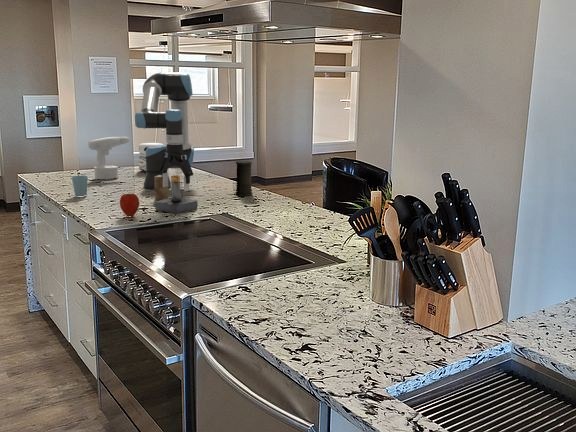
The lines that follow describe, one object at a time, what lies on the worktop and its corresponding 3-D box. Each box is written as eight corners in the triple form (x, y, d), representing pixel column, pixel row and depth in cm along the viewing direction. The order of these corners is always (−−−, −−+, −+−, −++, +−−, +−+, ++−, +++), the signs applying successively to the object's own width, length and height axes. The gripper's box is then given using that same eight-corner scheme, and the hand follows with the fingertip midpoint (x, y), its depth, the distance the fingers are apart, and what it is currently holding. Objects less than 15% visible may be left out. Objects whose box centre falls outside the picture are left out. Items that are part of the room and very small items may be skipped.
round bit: (170, 209, 270) (169, 176, 267) (176, 208, 274) (175, 175, 270) (176, 210, 268) (175, 177, 265) (182, 209, 272) (181, 176, 268)
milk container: (134, 173, 368) (133, 145, 363) (145, 168, 384) (144, 142, 380) (159, 174, 365) (158, 146, 361) (169, 170, 381) (168, 143, 377)
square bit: (155, 199, 291) (154, 176, 288) (160, 197, 296) (159, 175, 293) (163, 200, 289) (162, 177, 287) (168, 198, 294) (168, 175, 291)
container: (253, 193, 311) (253, 160, 307) (250, 196, 302) (250, 163, 298) (237, 192, 312) (237, 160, 308) (234, 196, 303) (234, 162, 299)
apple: (134, 213, 261) (133, 190, 259) (143, 217, 256) (142, 193, 253) (116, 216, 256) (115, 192, 253) (126, 220, 250) (125, 195, 247)
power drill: (132, 177, 351) (130, 136, 345) (92, 180, 338) (89, 138, 332) (128, 175, 358) (126, 135, 352) (88, 178, 345) (86, 137, 339)
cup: (83, 198, 291) (82, 178, 288) (70, 197, 292) (68, 177, 290) (91, 195, 298) (90, 175, 295) (78, 194, 300) (77, 175, 297)
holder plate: (155, 210, 269) (154, 201, 268) (176, 204, 280) (176, 196, 280) (176, 214, 262) (176, 205, 261) (197, 208, 273) (197, 200, 272)
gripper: (149, 141, 267) (151, 186, 273) (189, 146, 254) (190, 193, 259) (161, 140, 273) (162, 183, 279) (200, 145, 260) (201, 190, 265)
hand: (176, 188), depth 269 cm, fingers open, 13 cm apart
